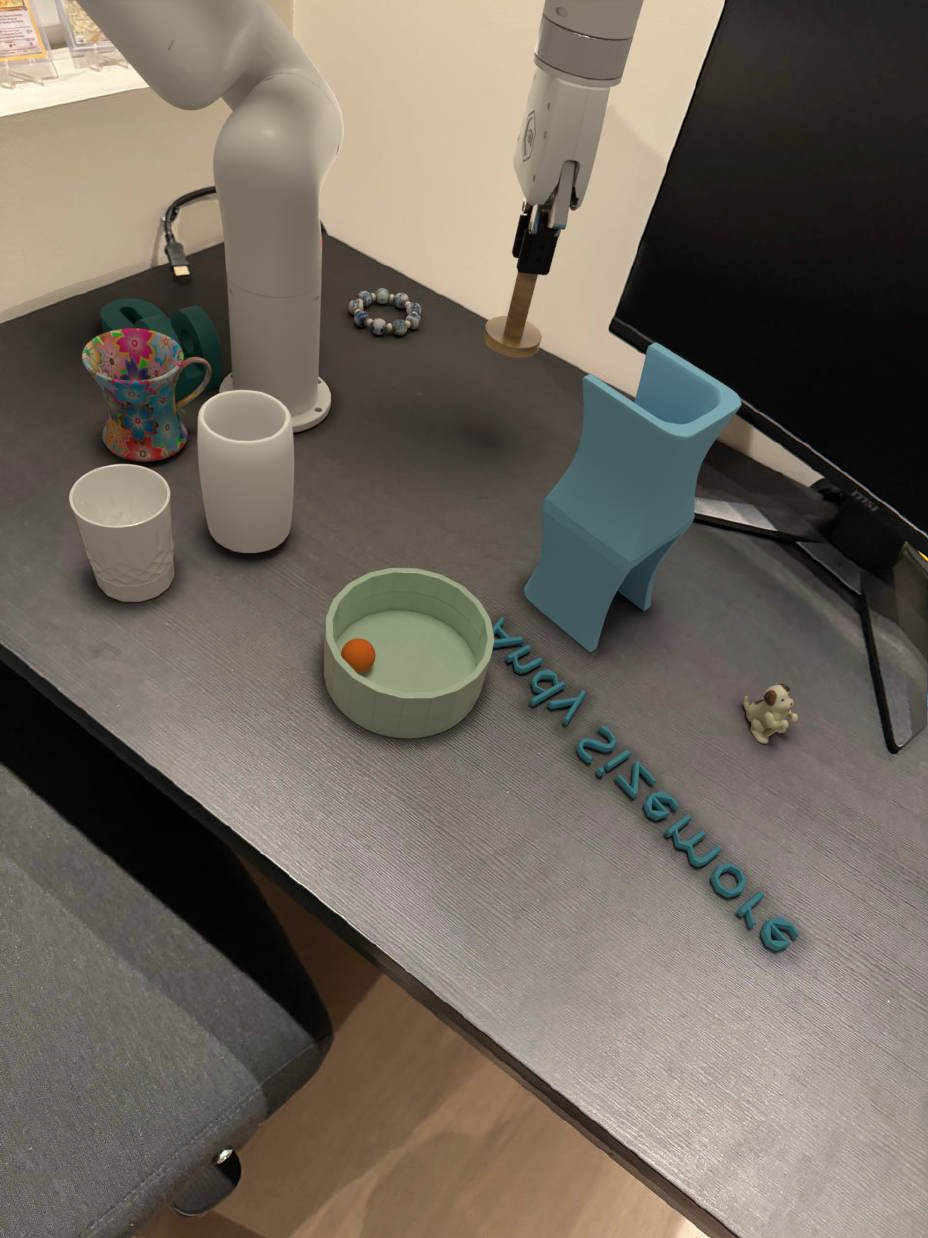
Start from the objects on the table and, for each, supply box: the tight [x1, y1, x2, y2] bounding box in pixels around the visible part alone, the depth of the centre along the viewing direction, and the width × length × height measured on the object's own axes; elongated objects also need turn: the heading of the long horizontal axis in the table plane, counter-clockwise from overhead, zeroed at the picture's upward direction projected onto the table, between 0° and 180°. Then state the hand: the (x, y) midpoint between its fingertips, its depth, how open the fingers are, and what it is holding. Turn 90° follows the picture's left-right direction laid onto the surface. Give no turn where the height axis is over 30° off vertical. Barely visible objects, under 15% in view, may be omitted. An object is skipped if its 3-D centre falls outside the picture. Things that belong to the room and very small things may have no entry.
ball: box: [341, 638, 376, 673], centre depth 73 cm, size 3×3×3 cm
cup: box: [196, 390, 295, 554], centre depth 78 cm, size 8×8×14 cm
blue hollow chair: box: [523, 342, 742, 653], centre depth 76 cm, size 10×10×25 cm
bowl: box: [323, 567, 496, 739], centre depth 73 cm, size 14×14×6 cm
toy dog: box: [742, 683, 799, 745], centre depth 76 cm, size 4×5×5 cm
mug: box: [81, 329, 211, 463], centre depth 86 cm, size 12×9×11 cm
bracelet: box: [347, 287, 422, 336], centre depth 113 cm, size 10×10×2 cm
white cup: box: [68, 463, 175, 603], centre depth 74 cm, size 8×8×10 cm
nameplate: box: [492, 616, 800, 952], centre depth 72 cm, size 37×1×5 cm
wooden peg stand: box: [483, 206, 551, 359], centre depth 84 cm, size 6×6×14 cm
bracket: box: [99, 298, 224, 402], centre depth 97 cm, size 18×7×8 cm, turn 42°
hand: (529, 263), depth 82 cm, fingers closed on wooden peg stand
